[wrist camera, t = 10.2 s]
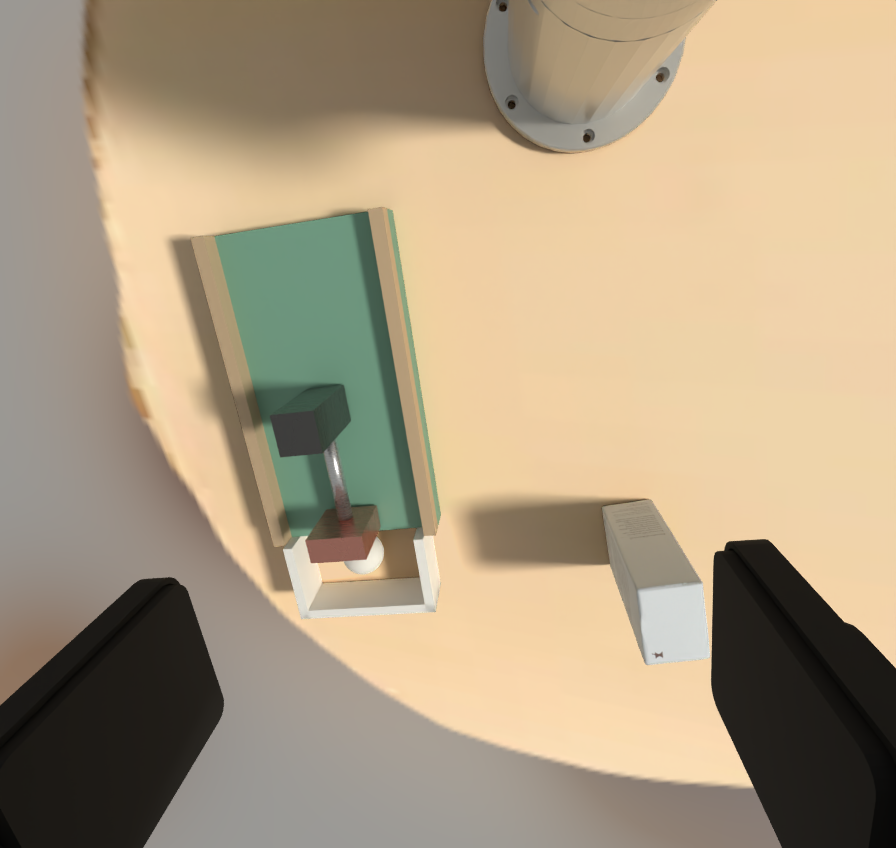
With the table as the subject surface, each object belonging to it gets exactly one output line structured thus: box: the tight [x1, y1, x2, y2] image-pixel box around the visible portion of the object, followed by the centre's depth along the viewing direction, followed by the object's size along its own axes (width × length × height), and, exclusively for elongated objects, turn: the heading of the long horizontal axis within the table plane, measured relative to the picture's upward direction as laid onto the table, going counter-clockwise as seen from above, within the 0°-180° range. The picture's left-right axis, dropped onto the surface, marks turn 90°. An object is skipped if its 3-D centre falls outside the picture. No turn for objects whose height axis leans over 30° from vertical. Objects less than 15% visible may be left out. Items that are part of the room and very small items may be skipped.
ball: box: [344, 537, 384, 574], centre depth 46 cm, size 4×4×4 cm
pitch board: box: [190, 207, 441, 547], centre depth 41 cm, size 25×14×4 cm, turn 8°
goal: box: [283, 527, 441, 619], centre depth 46 cm, size 7×12×4 cm, turn 98°
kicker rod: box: [270, 384, 381, 563], centre depth 39 cm, size 12×4×7 cm, turn 8°
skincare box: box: [602, 499, 710, 665], centre depth 39 cm, size 6×4×12 cm
